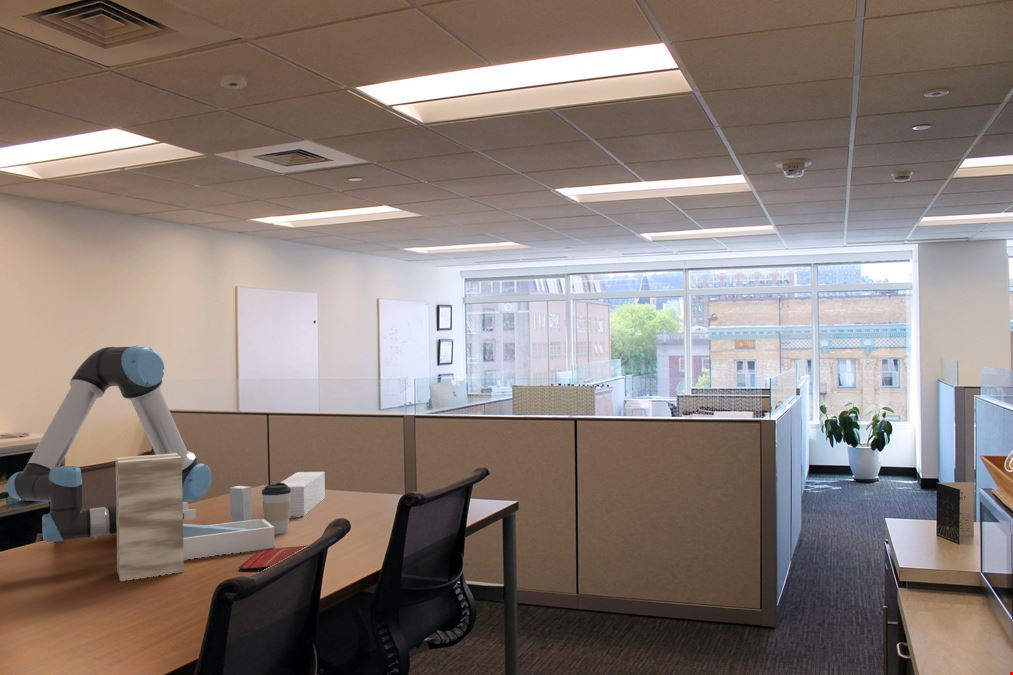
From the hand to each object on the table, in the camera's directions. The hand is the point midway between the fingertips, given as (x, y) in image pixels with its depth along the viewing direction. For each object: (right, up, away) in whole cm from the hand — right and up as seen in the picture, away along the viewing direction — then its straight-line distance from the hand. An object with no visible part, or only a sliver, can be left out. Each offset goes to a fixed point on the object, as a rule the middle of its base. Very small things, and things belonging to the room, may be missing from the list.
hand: (192, 510), depth 231 cm
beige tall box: (-3, -12, -19) cm, 23 cm away
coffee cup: (+18, -12, +23) cm, 32 cm away
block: (+2, -9, 0) cm, 9 cm away
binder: (+28, -12, -11) cm, 32 cm away
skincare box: (+2, -13, +37) cm, 40 cm away
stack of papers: (+15, -13, +61) cm, 65 cm away
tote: (+5, -12, +1) cm, 13 cm away
